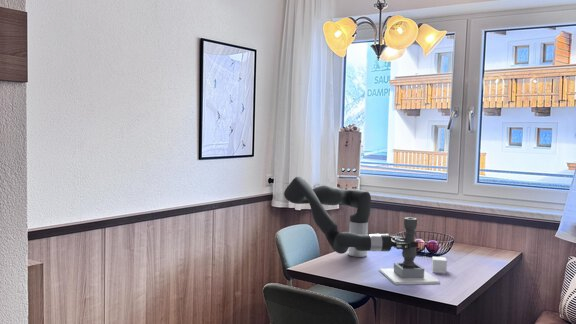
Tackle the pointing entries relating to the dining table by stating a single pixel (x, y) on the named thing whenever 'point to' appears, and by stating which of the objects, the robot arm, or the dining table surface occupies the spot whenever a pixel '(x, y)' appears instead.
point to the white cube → (439, 264)
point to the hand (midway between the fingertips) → (414, 242)
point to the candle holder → (410, 233)
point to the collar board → (408, 275)
